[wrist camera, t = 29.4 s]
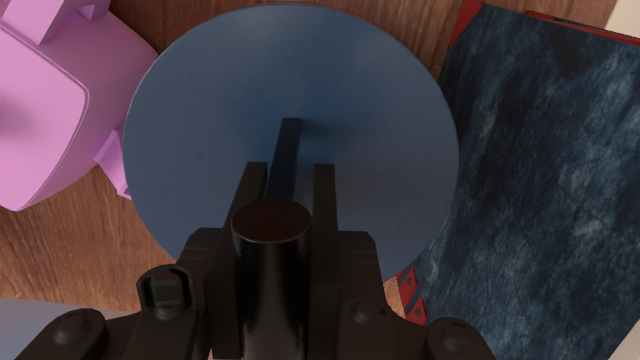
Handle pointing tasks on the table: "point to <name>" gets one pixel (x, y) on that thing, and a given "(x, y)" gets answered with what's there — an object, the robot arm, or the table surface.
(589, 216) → the book
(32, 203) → the teakettle
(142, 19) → the table surface
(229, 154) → the lid
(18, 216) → the table surface
